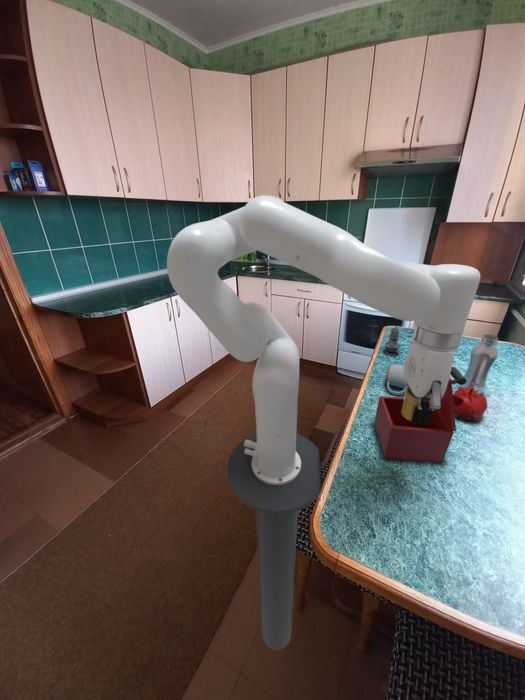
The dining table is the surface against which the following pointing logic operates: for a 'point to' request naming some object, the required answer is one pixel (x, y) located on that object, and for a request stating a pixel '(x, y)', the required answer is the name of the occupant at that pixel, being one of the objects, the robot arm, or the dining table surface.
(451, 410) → the lid
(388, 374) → the ceramic mug
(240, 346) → the robot arm
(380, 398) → the red lidded box
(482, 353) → the plastic bottle
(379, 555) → the dining table surface
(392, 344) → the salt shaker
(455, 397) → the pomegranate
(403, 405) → the cup
